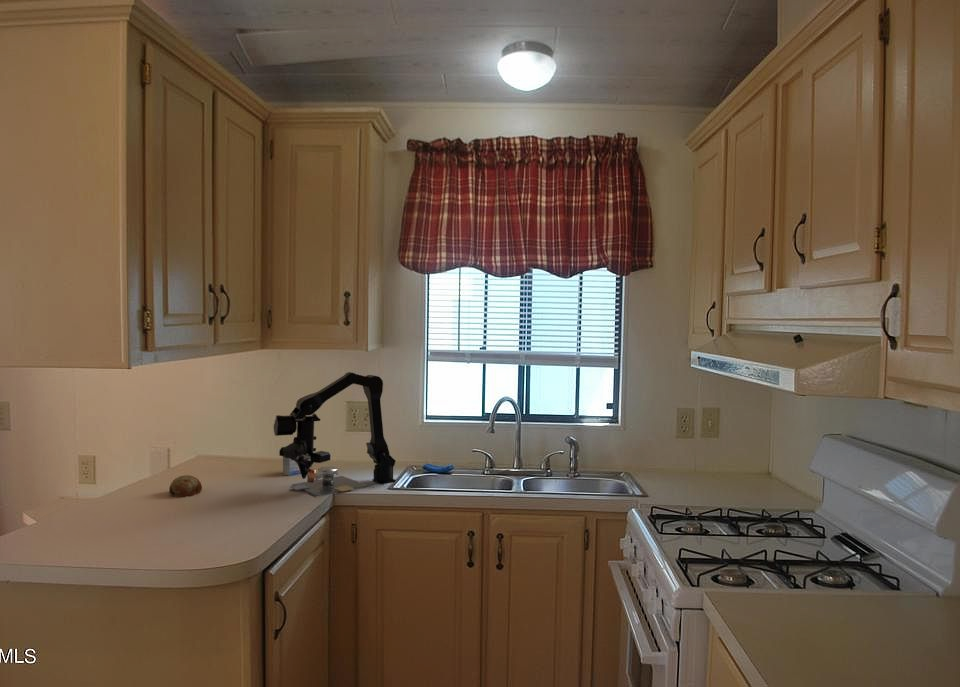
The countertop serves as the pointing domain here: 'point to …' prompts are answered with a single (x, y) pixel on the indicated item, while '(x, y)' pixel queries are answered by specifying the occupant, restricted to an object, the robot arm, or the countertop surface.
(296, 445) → the robot arm
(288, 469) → the medicine box
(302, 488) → the post base
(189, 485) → the bread roll
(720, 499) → the countertop surface
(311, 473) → the collar lever
